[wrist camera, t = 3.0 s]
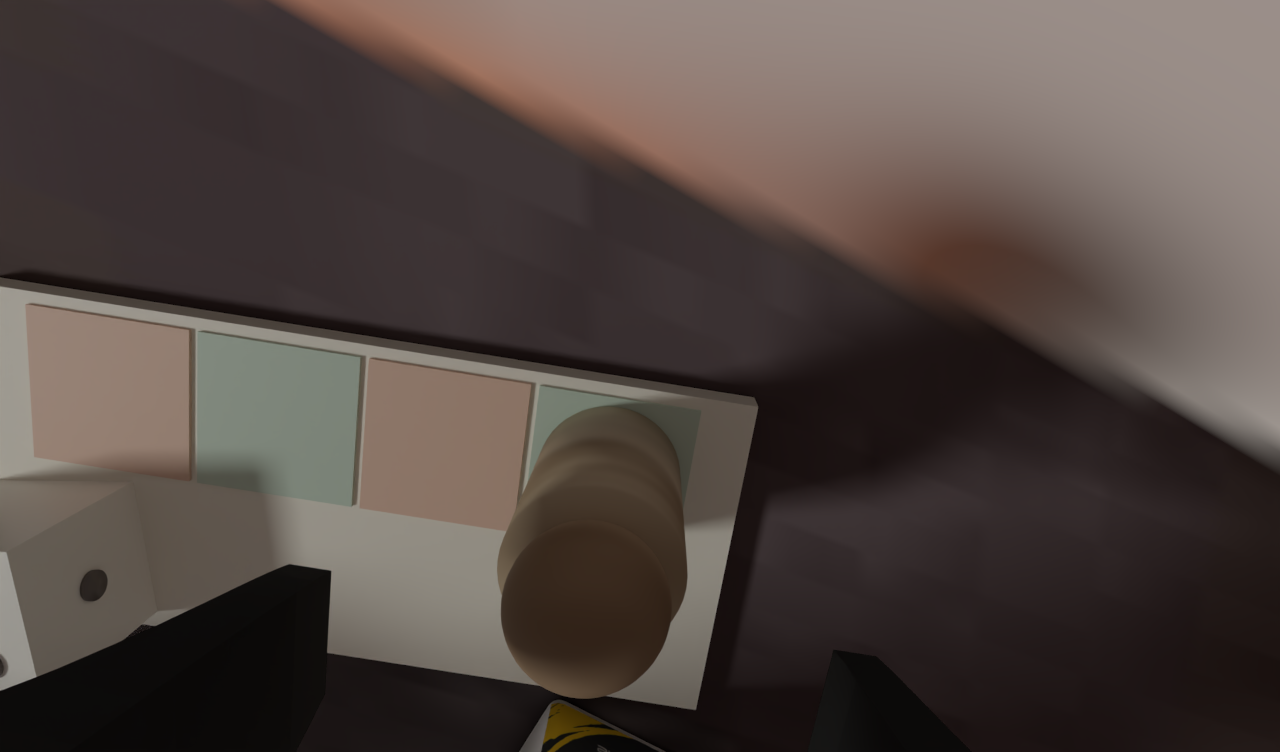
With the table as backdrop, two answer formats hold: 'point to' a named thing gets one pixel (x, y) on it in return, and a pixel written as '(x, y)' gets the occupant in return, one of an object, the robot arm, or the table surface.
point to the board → (341, 465)
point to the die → (68, 573)
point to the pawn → (595, 555)
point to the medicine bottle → (580, 733)
